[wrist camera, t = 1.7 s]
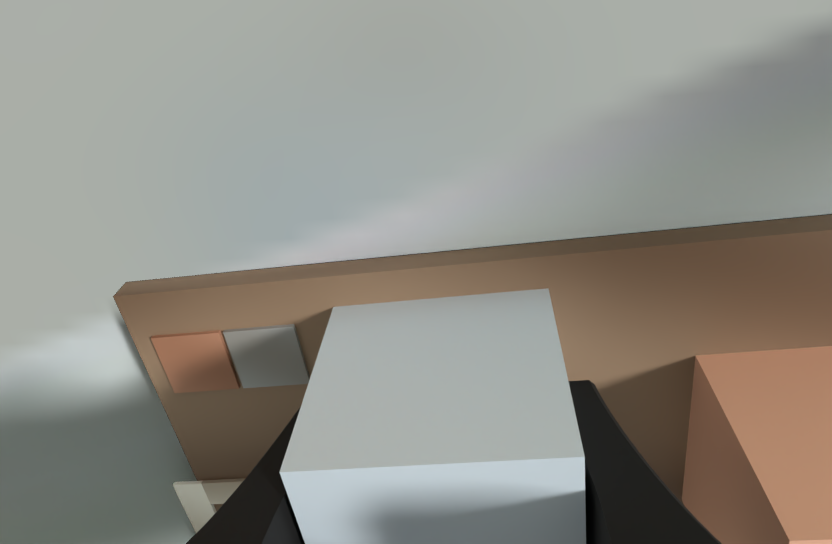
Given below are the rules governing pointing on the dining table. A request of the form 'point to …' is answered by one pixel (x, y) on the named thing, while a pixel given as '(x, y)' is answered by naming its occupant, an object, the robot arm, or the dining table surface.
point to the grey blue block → (439, 427)
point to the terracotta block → (762, 446)
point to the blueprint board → (470, 275)
